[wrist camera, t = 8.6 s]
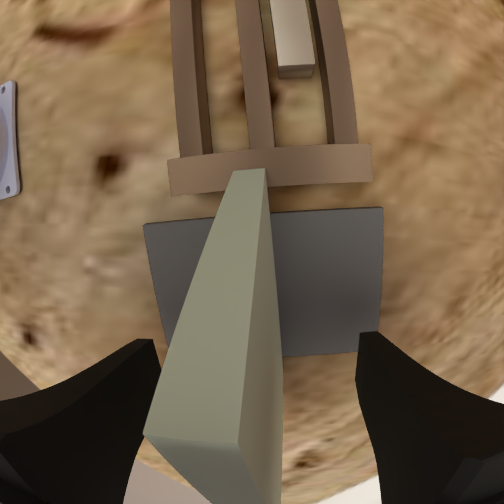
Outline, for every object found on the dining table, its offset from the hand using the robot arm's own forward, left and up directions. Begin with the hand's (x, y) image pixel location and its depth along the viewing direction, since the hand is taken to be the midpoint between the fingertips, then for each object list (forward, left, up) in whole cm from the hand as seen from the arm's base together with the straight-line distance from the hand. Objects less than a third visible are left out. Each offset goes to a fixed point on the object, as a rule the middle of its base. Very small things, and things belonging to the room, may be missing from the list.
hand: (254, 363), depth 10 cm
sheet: (0, 0, -5) cm, 5 cm away
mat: (0, 0, -6) cm, 6 cm away
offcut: (+2, +13, -7) cm, 15 cm away
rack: (+1, +16, -6) cm, 17 cm away
